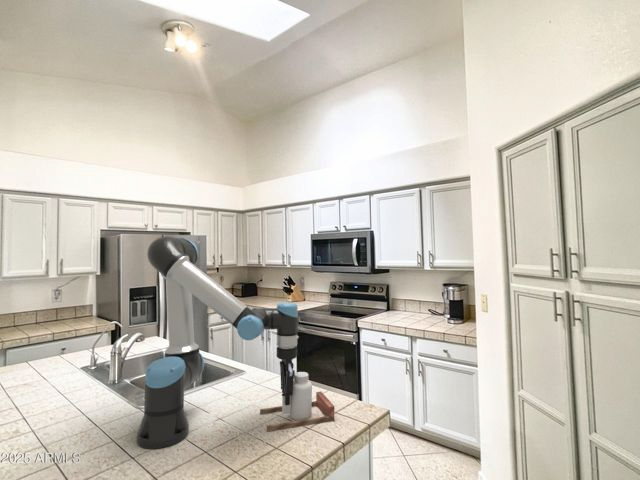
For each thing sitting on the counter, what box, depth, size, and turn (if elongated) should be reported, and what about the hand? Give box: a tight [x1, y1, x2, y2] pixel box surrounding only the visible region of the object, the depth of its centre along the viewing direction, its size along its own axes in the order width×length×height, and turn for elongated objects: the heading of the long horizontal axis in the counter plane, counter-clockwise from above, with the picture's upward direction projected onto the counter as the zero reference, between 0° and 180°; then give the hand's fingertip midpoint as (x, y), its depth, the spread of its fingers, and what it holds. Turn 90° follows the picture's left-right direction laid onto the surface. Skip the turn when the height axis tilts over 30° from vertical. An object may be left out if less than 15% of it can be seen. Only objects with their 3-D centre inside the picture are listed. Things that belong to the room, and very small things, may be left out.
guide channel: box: [259, 391, 335, 433], centre depth 123 cm, size 24×14×5 cm, turn 109°
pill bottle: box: [289, 371, 313, 421], centre depth 124 cm, size 8×8×15 cm
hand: (286, 412), depth 121 cm, fingers closed
